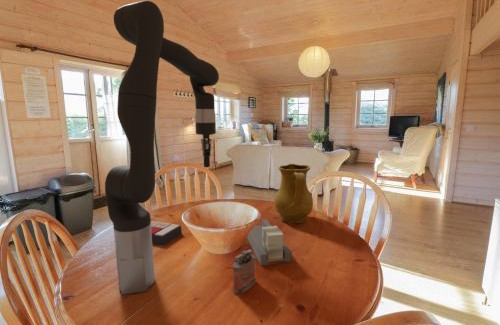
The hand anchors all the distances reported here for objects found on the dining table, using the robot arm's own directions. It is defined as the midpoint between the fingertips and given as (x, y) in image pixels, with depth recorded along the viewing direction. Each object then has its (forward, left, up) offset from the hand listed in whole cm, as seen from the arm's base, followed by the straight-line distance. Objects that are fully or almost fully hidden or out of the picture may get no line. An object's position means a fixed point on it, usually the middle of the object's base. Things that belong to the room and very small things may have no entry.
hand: (206, 166), depth 105 cm
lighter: (-38, -7, -27) cm, 47 cm away
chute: (-15, -19, -27) cm, 36 cm away
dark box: (+1, +20, -28) cm, 34 cm away
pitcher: (+5, -38, -27) cm, 47 cm away
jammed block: (-25, -19, -26) cm, 40 cm away
